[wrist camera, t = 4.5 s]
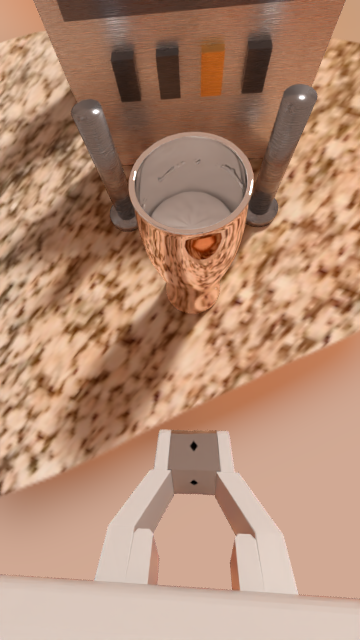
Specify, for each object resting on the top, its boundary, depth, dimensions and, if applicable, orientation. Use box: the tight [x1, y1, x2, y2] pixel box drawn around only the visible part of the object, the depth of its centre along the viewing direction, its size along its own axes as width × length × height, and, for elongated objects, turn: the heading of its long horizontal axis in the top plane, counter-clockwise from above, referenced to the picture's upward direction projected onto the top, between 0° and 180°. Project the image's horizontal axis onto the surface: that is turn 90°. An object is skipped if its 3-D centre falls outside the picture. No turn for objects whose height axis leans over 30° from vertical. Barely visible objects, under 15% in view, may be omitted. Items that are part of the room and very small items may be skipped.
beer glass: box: [129, 132, 254, 314], centre depth 19 cm, size 7×7×15 cm
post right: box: [246, 84, 317, 227], centre depth 23 cm, size 4×4×12 cm
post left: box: [71, 99, 138, 231], centre depth 24 cm, size 4×4×12 cm
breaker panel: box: [33, 0, 346, 165], centre depth 23 cm, size 24×3×16 cm, turn 90°
